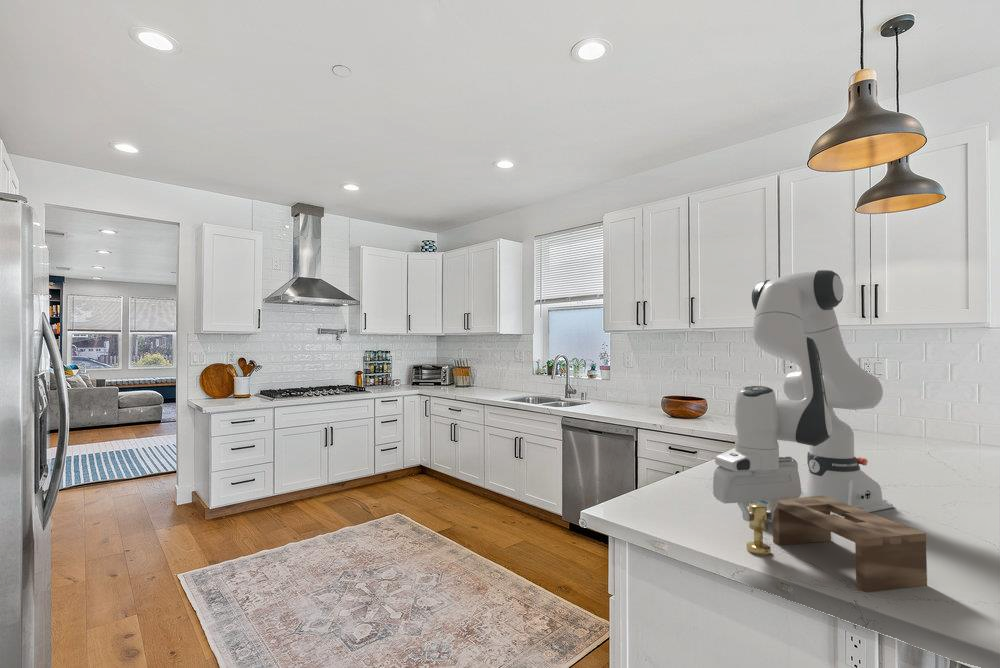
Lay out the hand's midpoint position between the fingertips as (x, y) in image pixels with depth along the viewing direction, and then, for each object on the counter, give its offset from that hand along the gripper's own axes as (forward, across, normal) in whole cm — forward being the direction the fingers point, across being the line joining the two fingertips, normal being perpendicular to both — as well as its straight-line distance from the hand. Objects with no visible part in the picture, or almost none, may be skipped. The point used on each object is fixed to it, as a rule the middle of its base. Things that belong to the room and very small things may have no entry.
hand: (758, 519), depth 110 cm
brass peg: (+7, 0, 0) cm, 7 cm away
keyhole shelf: (+7, -14, +8) cm, 18 cm away
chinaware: (+7, -18, -17) cm, 26 cm away
